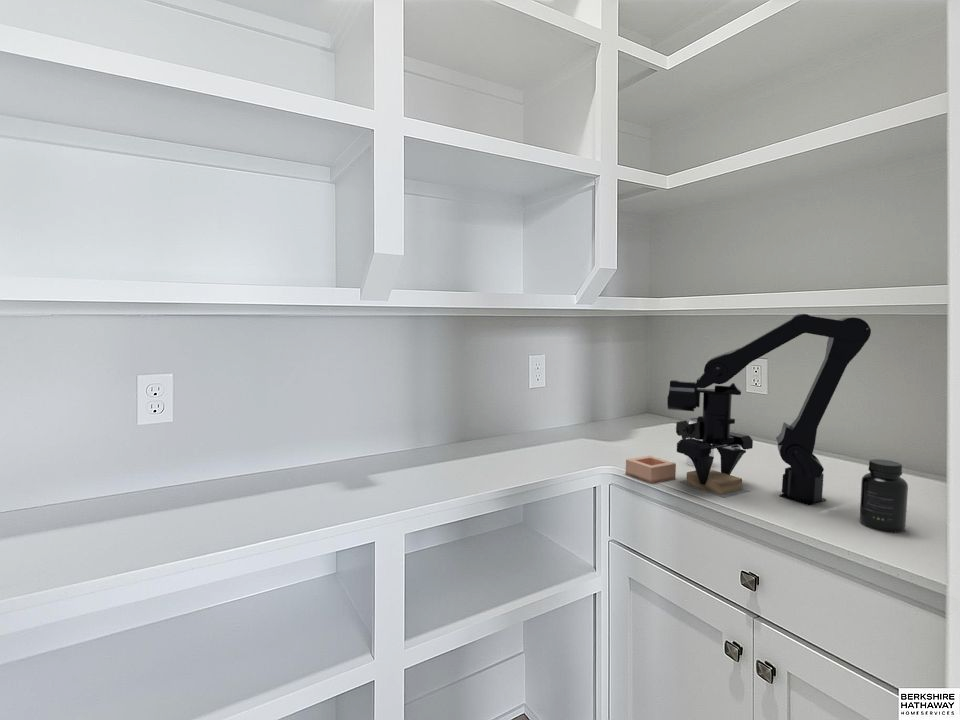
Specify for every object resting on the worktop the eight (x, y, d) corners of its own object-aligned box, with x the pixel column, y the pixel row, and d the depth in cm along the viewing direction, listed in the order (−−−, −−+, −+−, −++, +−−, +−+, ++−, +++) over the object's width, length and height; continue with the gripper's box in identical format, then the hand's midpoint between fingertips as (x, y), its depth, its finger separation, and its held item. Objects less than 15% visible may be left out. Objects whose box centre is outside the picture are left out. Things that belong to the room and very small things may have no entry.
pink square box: (675, 480, 124) (675, 463, 124) (650, 485, 120) (651, 467, 120) (649, 471, 131) (649, 455, 131) (625, 475, 127) (626, 459, 127)
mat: (750, 492, 115) (750, 490, 115) (723, 499, 111) (723, 497, 111) (703, 478, 126) (703, 476, 126) (677, 483, 122) (677, 481, 122)
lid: (741, 489, 116) (742, 478, 116) (720, 494, 113) (721, 483, 113) (706, 478, 124) (707, 468, 124) (686, 482, 121) (686, 472, 120)
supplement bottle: (863, 516, 102) (867, 455, 101) (908, 526, 97) (913, 462, 96) (854, 525, 98) (859, 461, 97) (901, 536, 93) (906, 469, 92)
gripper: (712, 404, 129) (710, 467, 130) (658, 410, 120) (656, 478, 121) (755, 412, 119) (752, 479, 120) (700, 419, 110) (697, 492, 111)
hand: (713, 481), depth 118 cm, fingers closed on lid, 7 cm apart
